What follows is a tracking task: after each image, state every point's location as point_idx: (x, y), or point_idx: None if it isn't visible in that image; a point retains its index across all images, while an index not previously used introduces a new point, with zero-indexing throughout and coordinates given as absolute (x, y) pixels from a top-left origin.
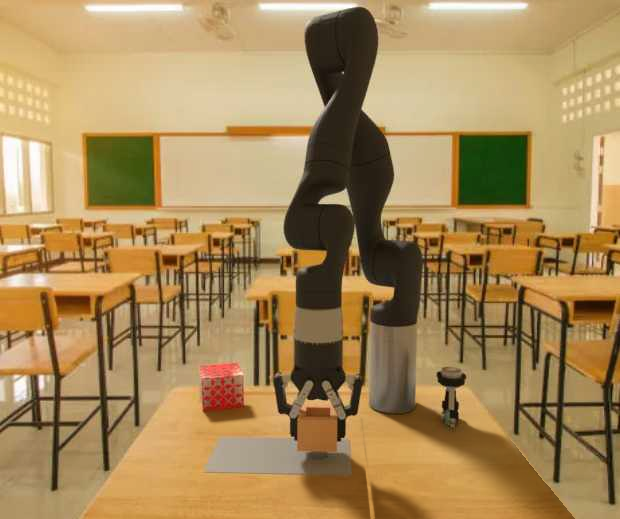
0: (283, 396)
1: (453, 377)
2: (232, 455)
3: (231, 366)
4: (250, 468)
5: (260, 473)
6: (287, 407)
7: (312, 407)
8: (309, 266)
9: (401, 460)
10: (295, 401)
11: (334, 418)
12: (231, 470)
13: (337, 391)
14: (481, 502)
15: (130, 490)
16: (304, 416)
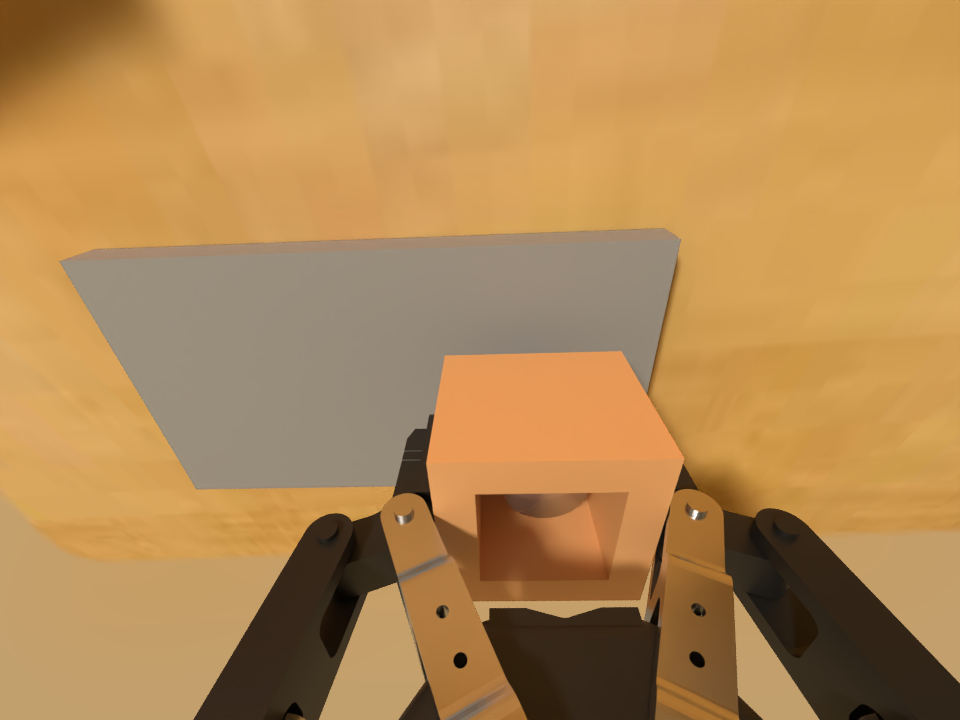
0: (330, 687)
1: None
2: (221, 405)
3: None
4: (320, 467)
5: (360, 485)
6: (372, 590)
7: (513, 493)
8: None
9: (842, 320)
10: (414, 643)
11: (629, 589)
12: (270, 478)
13: (730, 625)
14: (928, 502)
15: (69, 503)
16: (476, 581)
